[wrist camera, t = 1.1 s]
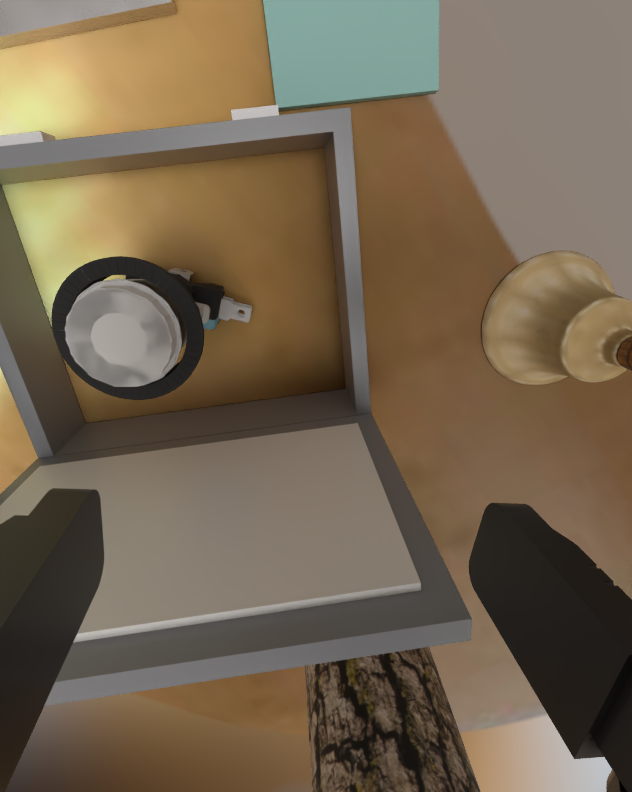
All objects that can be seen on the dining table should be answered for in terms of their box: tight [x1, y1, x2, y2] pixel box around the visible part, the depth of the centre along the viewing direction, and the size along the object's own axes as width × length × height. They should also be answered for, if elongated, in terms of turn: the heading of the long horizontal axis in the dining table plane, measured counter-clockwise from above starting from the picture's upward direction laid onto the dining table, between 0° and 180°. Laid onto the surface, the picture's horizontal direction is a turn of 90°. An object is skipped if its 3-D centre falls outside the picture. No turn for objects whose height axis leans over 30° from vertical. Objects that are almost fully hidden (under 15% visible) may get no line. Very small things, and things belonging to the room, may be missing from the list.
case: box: [0, 105, 472, 706], centre depth 16 cm, size 19×16×17 cm
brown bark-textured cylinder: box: [305, 647, 480, 792], centre depth 20 cm, size 7×7×25 cm
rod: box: [0, 0, 177, 49], centre depth 19 cm, size 10×1×1 cm, turn 101°
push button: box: [52, 256, 252, 400], centre depth 19 cm, size 7×5×10 cm
